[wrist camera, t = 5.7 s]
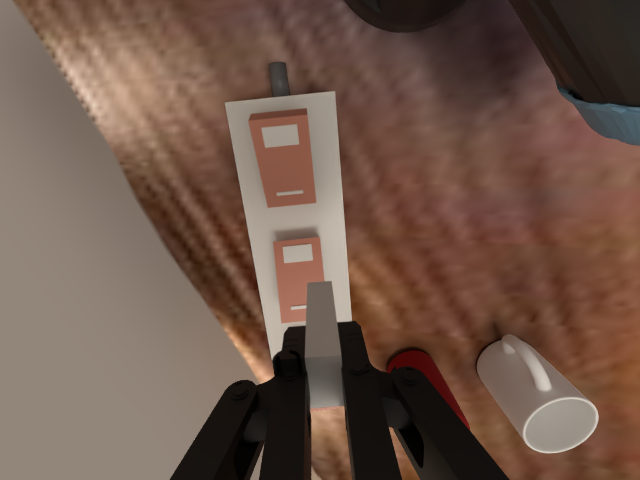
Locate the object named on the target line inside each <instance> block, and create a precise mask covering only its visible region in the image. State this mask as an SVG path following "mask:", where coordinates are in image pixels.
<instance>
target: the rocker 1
mask: <svg viewBox="0 0 640 480" xmlns="http://www.w3.org/2000/svg"><path fill="white" fill-rule="evenodd" d="M248 122H249V127H250V131H251V136H252V140H253V144H254V149H255V153H256V158H257V162H258V167H259V171H260V176H261V180H262V185H263V189H264V194H265V198H266V202H267V207H268V208H272V207H282V206H291V205H301V204H311V203H316V194H315V184H314V174H313V164H312V154H311V145H310V135H309V125H308V115H307V108H303V109H293V110H283V111H274V112H264V113H254V114H251V115H250V117H249V120H248Z"/></svg>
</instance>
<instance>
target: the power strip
mask: <svg viewBox="0 0 640 480" xmlns="http://www.w3.org/2000/svg"><path fill="white" fill-rule="evenodd" d="M269 71H270V79H271V86H272V93H273V97H272V98H263V99H253V100H243V101H234V102H225V107H226V113H227V118H228V123H229V129H230V135H231V140H232V146H233V151H234V156H235V162H236V167H237V173H238V178H239V184H240V189H241V195H242V200H243V205H244V211H245V216H246V221H247V227H248V232H249V238H250V243H251V249H252V254H253V260H254V265H255V271H256V276H257V282H258V287H259V292H260V298H261V303H262V309H263V314H264V319H265V325H266V330H267V336H268V341H269V347H270V352H271V358H272V359H273V357H274V356H275V355H276V354H277V353H278V352H279V351H281V350H282V343H283V336H284V333H285V331H286V330H287V329H288V327H294V326H306V321H301V322H291V323H281V315H280V305H279V296H278V286H277V276H276V266H275V257H274V247H273V242H275V241H285V240H294V239H304V238H314V237H320V243H321V252H322V262H323V271H324V281H332V288H333V295H334V303H335V310H336V318H337V322H348V321H352V317H351V303H350V290H349V276H348V263H347V249H346V235H345V222H344V208H343V194H342V181H341V167H340V153H339V140H338V126H337V112H336V99H335V91H331V92H321V93H311V94H302V95H292V96H290V95H289V86H288V78H287V69H286V63H284V62H274V63H270V64H269ZM303 108H307V115H308V125H309V135H310V145H311V154H312V164H313V174H314V184H315V194H316V203H311V204H301V205H291V206H282V207H272V208H268V207H267V202H266V198H265V194H264V189H263V185H262V180H261V176H260V171H259V167H258V162H257V158H256V153H255V149H254V144H253V140H252V136H251V131H250V127H249V122H248V120H249V117H250V115H251V114H254V113H264V112H274V111H283V110H293V109H303Z"/></svg>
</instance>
